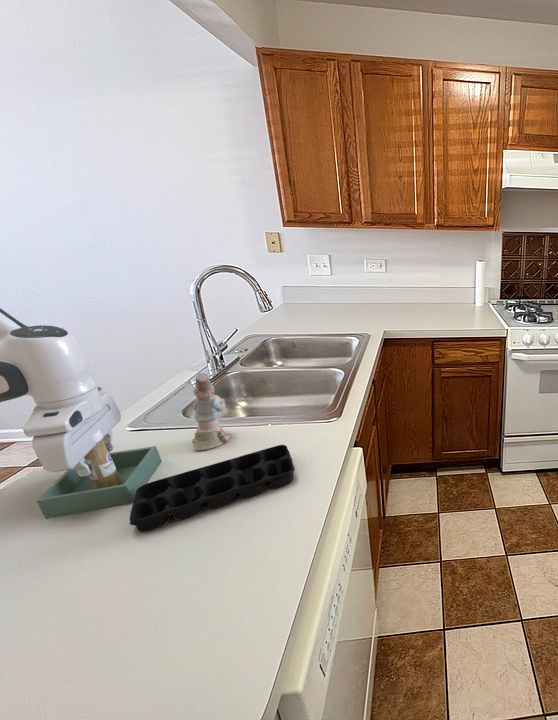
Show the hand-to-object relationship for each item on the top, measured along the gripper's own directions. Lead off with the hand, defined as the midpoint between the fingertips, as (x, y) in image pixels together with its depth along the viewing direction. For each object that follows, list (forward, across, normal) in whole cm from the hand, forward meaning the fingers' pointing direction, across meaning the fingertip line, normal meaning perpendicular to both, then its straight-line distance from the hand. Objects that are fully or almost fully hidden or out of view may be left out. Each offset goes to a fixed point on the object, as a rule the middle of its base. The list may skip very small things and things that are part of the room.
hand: (98, 461), depth 84 cm
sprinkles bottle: (+6, 0, 0) cm, 6 cm away
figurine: (+7, -13, +17) cm, 22 cm away
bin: (+7, 0, 0) cm, 7 cm away
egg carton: (+7, +9, +24) cm, 27 cm away
